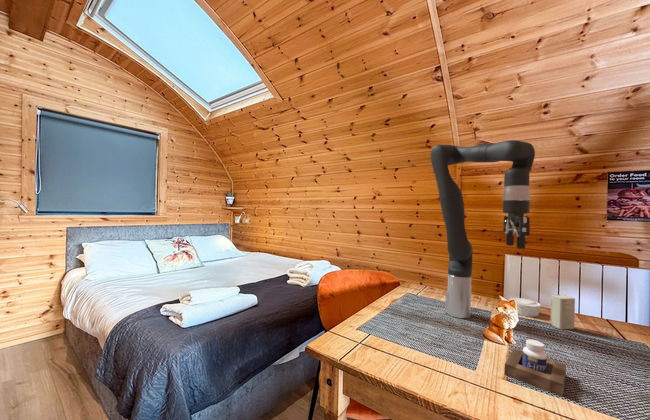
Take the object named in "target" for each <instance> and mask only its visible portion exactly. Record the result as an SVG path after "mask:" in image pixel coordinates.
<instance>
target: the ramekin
mask: <svg viewBox="0 0 650 420" xmlns="http://www.w3.org/2000/svg"><path fill="white" fill-rule="evenodd" d="M510 300H515V301H516V302H517V309H518V314H517V315H519V316H522V317H528V318H535V317H538V316H539V313H540V310H541V308H542V305H541V303H539V302H538V301H534V300H532V299H528V298H522V297H512V298H510V299H509V301H510Z"/></svg>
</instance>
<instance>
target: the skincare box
mask: <svg viewBox="0 0 650 420" xmlns="http://www.w3.org/2000/svg"><path fill="white" fill-rule="evenodd" d="M575 312H576V298H575V297H572V296H569V295H567V294H552V295H551V296H550V325H551V326H553V327H555V328H557V329H559V330H574V329H575V322H576V321H575V319H576V315H575Z"/></svg>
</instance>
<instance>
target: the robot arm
mask: <svg viewBox="0 0 650 420" xmlns="http://www.w3.org/2000/svg"><path fill="white" fill-rule="evenodd" d="M535 155H536V152H535V147H534V145H532V143H530V142H527V141H521V140H515V139H513V140H511V139H510V140H502V141H500V142H499V141H498V142H495V143H494V142H493V143H481V144H477V145H472V146H459V145H452V144H435V145H434V146H433V147H432V149H431V151H430V163H431V165H432V169H433V173H434V176H435V181H436V185H437V190H438V197H439V203H440V208H441V213H442V217H443V221H444V224H445V230H446V231H445V232H446V240H447V241H446V242H447V244H446V245H447V252H448V255H449V256H448V257H449V258H448V267H447V290H446V291H445V309H444V310H445V314H448V315H449V316H451V317H454V318H459V319H469V318H471V315H472V311H471V309H472V308H471V307H472V301H471V300H472V271H473V253H474V252H473V249H474V248H473V245H472V243H471V242H470V241H469V239H468V236H467V231H466V227H465V225H466V224H465V221H466V220H465V216H466V215H465V204H464V198H463V197H464V196H463V193H462V191H461V188H460V187H459V186H458V184H457V183H456V181H455V179H453V177H452V175H451V173H450V170H449V166H453V165H456V164H460V163H467V162H468V163H483V164H484V163H485V164H487V163H497V162H512V165H511V168H510V169H509V168H508V169H507V170H506V171H505V172H504V178H503V181H504V182H503V183H504V184H503V191H502V192H503V193H502V213H503V214H508V215H505V216H503V225H502V226H503V229H502V231H503V233H504V234H505V245H506V246H514V243H515V235H516V243H515V244H516V245H515V246H516V247H515V248H516V249H518V250H520V249H522V250H524V249H526V238H527V237H528V236H529V237H530V217H529V216H525V214H526V215H528V214H529V213H530V210H531V209H530V208H531V206H530V205H531V203H530V202H531V198H530V197H531V191H530V172H531V171H532V167H533V163H534V161H535V158H536V157H535Z"/></svg>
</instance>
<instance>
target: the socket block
mask: <svg viewBox="0 0 650 420" xmlns="http://www.w3.org/2000/svg"><path fill="white" fill-rule="evenodd" d="M522 361H523V350H520V349H517V348H513V349H512V350H511V352H510V354H509V356H508V357H507V359H506V361H505V362H504V375H505V376H508V377H510V378H513V379H515V380H518V381H521V382H523V383H525V384H528V385H531V386H534V387H536V388H540V389H542V390H545V391H547V392H550V393H551V394H554V395H558V396H560V397H564V391H565V384H566V375H567V365H566V364H564V363H561V362H558V361H554V360H551V359H548V358H547V372H546V374H545V373H542V372H540V371H537V370H534V369H531V368H528V367H525V366H522Z"/></svg>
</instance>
